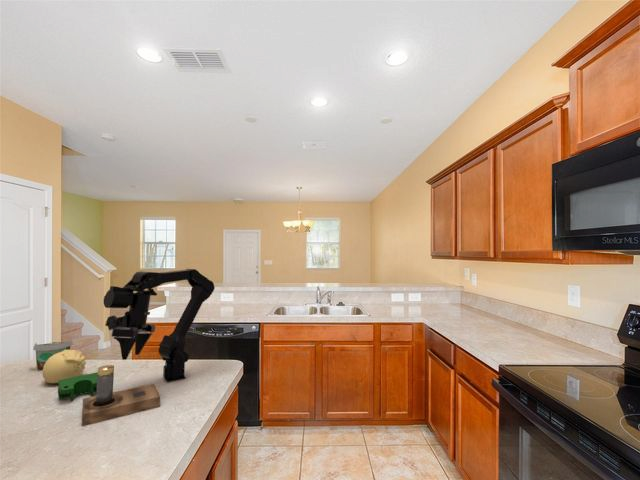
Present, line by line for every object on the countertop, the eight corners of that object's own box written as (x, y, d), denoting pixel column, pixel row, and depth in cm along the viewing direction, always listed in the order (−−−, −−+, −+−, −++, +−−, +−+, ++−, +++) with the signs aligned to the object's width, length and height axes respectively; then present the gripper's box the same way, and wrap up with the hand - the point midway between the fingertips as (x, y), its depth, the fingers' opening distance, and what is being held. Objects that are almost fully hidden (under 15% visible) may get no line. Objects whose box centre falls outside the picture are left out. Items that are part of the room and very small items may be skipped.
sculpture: (83, 382, 111) (85, 352, 111) (39, 390, 104) (41, 357, 105) (85, 372, 120) (87, 343, 121) (44, 378, 114) (46, 348, 114)
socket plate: (153, 393, 104) (154, 383, 104) (159, 406, 95) (160, 396, 95) (82, 409, 93) (82, 398, 93) (81, 425, 84) (82, 414, 84)
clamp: (66, 415, 97) (53, 394, 94) (64, 403, 102) (52, 383, 98) (109, 391, 104) (99, 371, 101) (106, 381, 109) (96, 361, 105)
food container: (26, 373, 117) (28, 347, 118) (32, 368, 123) (34, 342, 123) (67, 368, 123) (69, 343, 124) (71, 363, 129) (73, 339, 129)
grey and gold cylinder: (111, 407, 94) (113, 364, 94) (112, 413, 91) (114, 368, 91) (95, 411, 92) (97, 366, 92) (95, 417, 88) (97, 371, 89)
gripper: (126, 306, 114) (118, 351, 110) (98, 307, 95) (87, 361, 92) (158, 308, 115) (151, 352, 112) (136, 309, 97) (127, 362, 94)
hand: (130, 357), depth 102 cm, fingers open, 9 cm apart
